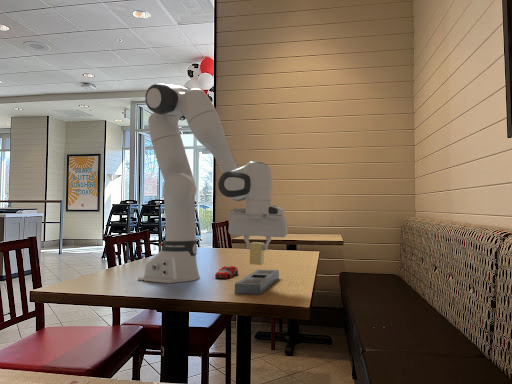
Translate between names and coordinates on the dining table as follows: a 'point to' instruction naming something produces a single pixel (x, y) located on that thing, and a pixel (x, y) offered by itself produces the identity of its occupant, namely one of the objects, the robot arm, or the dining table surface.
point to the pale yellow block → (256, 253)
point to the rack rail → (256, 282)
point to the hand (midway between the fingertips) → (257, 249)
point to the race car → (226, 272)
